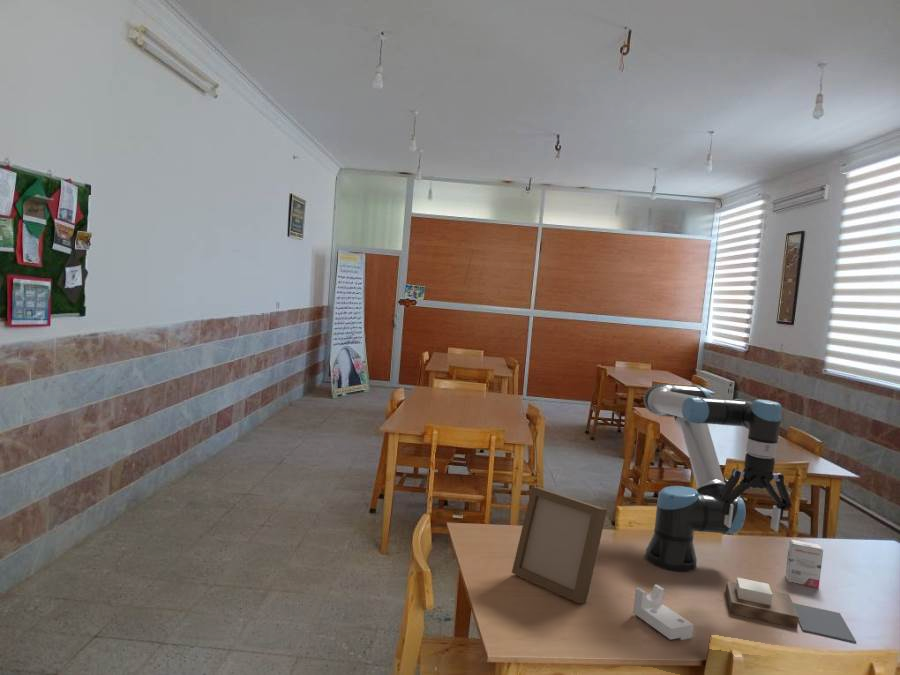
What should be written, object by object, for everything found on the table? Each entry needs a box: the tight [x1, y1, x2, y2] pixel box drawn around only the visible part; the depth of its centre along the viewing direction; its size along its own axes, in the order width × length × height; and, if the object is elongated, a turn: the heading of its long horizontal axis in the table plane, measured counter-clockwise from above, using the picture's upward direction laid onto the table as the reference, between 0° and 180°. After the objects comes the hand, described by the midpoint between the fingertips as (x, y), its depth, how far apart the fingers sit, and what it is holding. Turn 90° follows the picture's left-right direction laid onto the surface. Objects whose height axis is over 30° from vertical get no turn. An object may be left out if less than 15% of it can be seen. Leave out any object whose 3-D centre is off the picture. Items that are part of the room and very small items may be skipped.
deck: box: [725, 580, 799, 629], centre depth 173 cm, size 16×14×3 cm
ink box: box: [784, 539, 824, 589], centre depth 193 cm, size 9×5×12 cm, turn 71°
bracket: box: [632, 584, 694, 641], centre depth 158 cm, size 13×7×8 cm, turn 25°
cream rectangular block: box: [735, 577, 772, 605], centre depth 173 cm, size 8×7×3 cm
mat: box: [793, 602, 857, 644], centre depth 168 cm, size 12×16×1 cm
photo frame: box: [511, 486, 608, 604], centre depth 177 cm, size 15×22×25 cm
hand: (750, 527), depth 181 cm, fingers open, 13 cm apart
